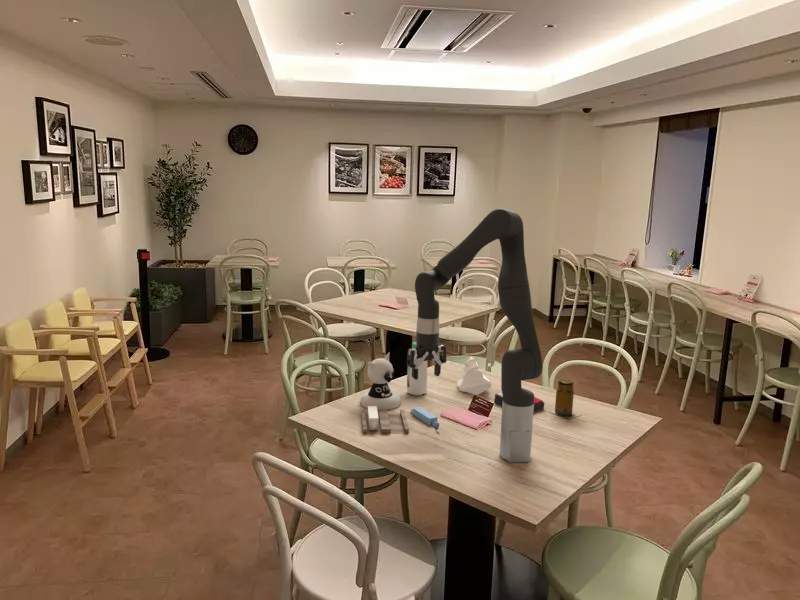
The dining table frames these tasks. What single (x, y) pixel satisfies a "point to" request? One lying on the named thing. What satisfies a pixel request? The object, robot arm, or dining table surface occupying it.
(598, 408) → the dining table surface
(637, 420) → the dining table surface
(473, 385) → the soft serve ice cream
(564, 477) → the dining table surface
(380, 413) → the cord comb
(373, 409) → the white rectangular block
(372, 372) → the decorative figurine
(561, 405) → the condiment
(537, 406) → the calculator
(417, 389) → the milk bottle
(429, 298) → the robot arm
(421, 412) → the light blue bar
